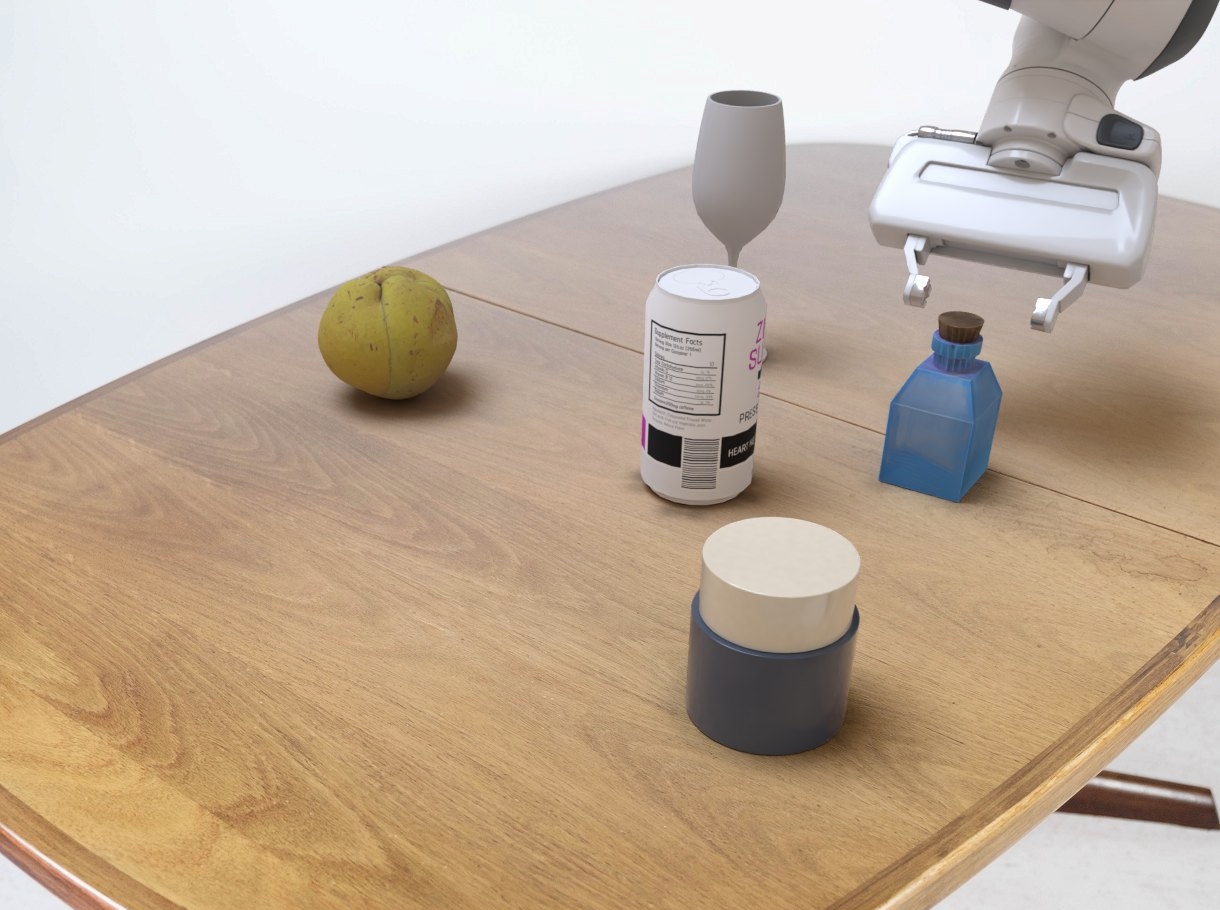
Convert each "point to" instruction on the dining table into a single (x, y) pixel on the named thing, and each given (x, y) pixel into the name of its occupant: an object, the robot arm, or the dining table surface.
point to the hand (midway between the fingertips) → (975, 315)
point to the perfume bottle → (944, 415)
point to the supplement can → (701, 382)
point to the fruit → (389, 332)
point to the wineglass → (739, 167)
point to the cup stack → (773, 635)
